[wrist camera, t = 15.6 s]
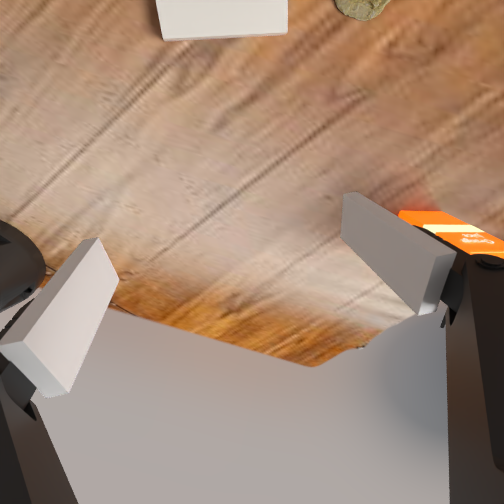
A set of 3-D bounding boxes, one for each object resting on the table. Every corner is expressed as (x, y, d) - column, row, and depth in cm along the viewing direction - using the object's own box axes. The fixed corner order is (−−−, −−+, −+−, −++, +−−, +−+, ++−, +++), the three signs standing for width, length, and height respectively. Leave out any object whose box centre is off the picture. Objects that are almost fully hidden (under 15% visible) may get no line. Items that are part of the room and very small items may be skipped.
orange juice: (400, 209, 46) (513, 275, 29) (442, 210, 48) (574, 273, 31) (385, 248, 50) (477, 325, 33) (425, 247, 51) (532, 322, 35)
